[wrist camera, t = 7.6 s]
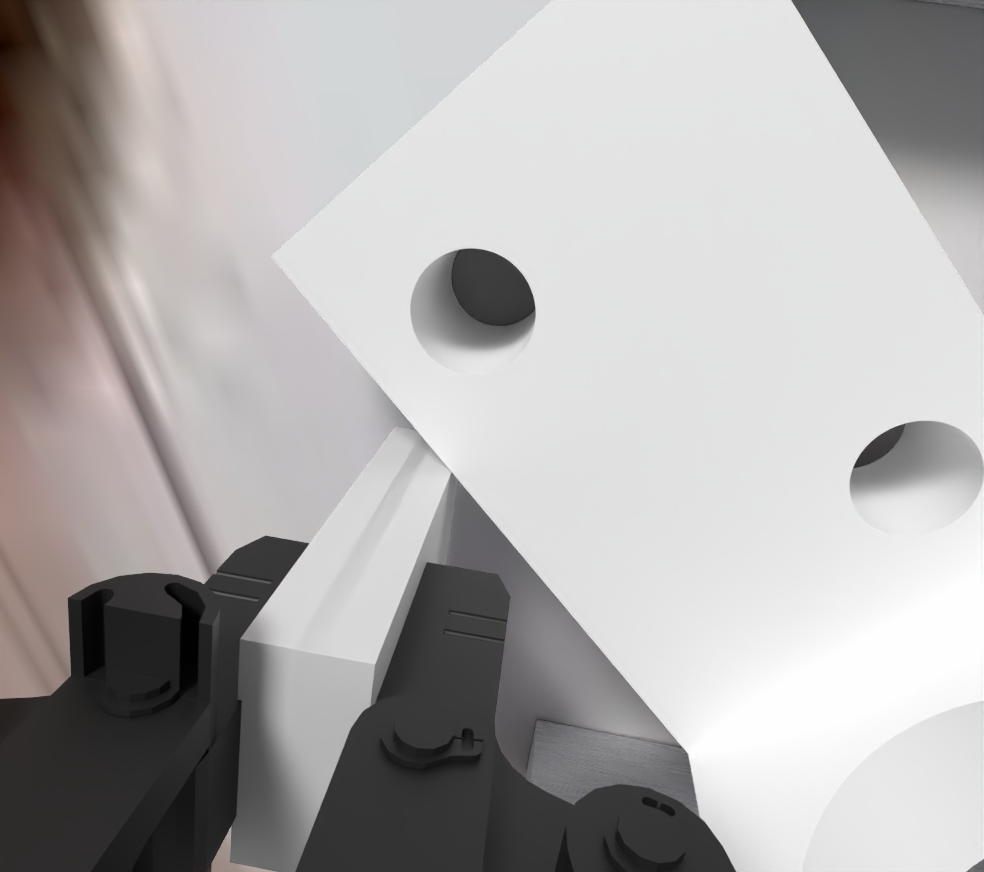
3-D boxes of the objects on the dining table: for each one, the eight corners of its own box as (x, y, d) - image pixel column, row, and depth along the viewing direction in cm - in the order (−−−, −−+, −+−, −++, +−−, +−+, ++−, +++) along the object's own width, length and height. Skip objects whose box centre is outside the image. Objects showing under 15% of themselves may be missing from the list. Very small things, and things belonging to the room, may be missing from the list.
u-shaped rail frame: (526, 772, 18) (510, 936, 14) (709, -153, 11) (773, -316, 7) (1068, 880, 17) (1208, 1084, 13) (1608, -48, 10) (2193, -169, 7)
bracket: (1053, 550, 14) (1525, 928, 7) (732, 714, 16) (849, 1132, 9) (669, -51, 12) (809, -398, 5) (346, 235, 14) (94, 305, 7)
